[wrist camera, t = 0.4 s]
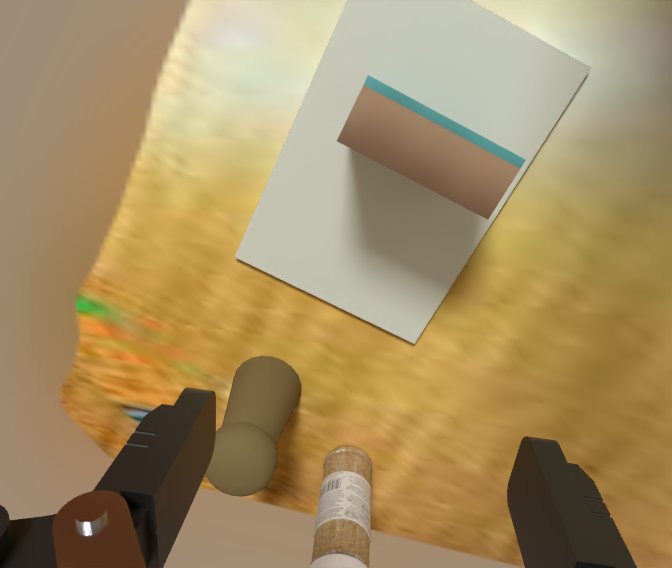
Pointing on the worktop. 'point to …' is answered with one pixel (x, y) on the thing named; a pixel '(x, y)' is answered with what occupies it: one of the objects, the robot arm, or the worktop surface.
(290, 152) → the sage mat
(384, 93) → the teal and brown block
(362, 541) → the sprinkles bottle
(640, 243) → the worktop surface
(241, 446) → the brown rounded upright piece
